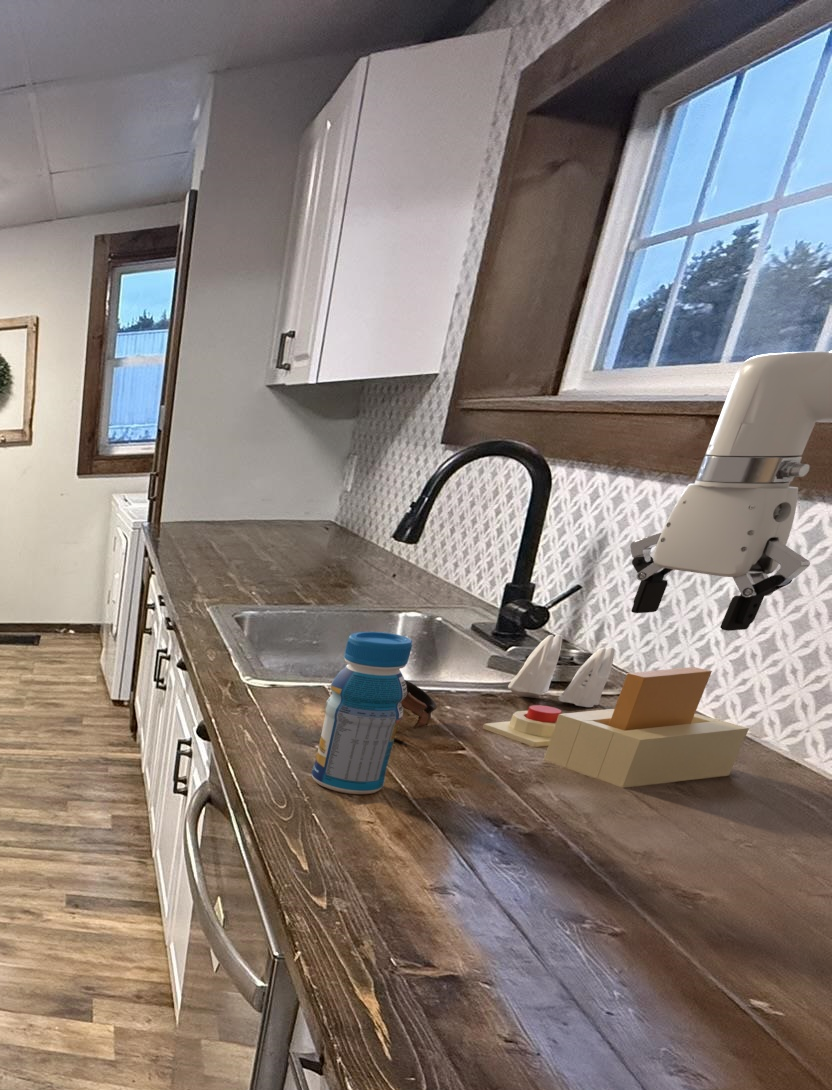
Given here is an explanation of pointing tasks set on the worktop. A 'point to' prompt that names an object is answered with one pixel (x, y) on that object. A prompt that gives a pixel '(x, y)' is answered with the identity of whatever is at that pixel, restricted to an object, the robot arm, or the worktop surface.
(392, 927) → the worktop surface
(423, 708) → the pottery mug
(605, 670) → the shaker set
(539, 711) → the pop button
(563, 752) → the toaster
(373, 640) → the beverage bottle
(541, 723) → the button block
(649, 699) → the toast
